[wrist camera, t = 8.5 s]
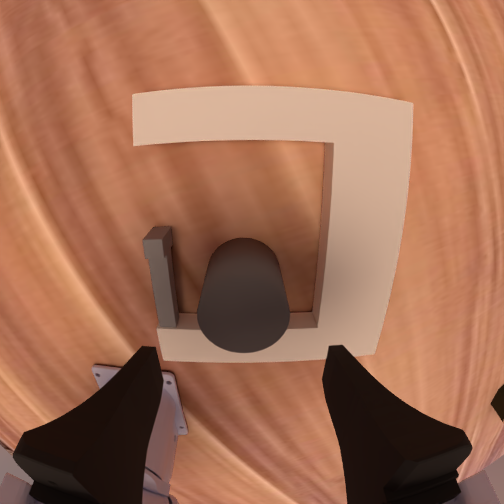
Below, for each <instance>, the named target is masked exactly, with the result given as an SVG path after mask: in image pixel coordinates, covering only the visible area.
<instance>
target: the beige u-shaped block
mask: <svg viewBox="0 0 504 504" xmlns="http://www.w3.org/2000/svg"><path fill="white" fill-rule="evenodd" d="M132 109H133V144H134V146H139V145H149V144H161V143H175V142H191V141H215V140H289V141H312V142H325V154H324V177H323V196H322V212H321V226H320V239H319V251H318V262H317V272H316V282H315V292H314V301H313V309H312V312H298V313H290V321H289V325H288V327H287V330H286V331H285V333H284V335H283V336H282V337H281V338H280V339H279V340H278V341H277V342H276V343H274V344H273V345H272V346H270V347H268V348H266V349H264V350H261V351H257V352H253V353H235V352H230V351H227V350H224V349H221V348H219V347H218V346H216V345H214V344H213V343H212V342H210V341H209V340H208V339H207V338H206V337H205V335H204V334H203V333H202V331H201V329H200V327H199V324H198V320H197V313H179V311H178V304H177V297H176V289H175V281H174V273H173V264H172V255H171V246H172V244H173V242H172V231H171V227H153V228H152V229H151V231H150V232H149V233H148V234H147V235H146V236H145V237H144V239H143V247H144V254H145V259H149V266H150V273H151V280H152V286H153V292H154V298H155V304H156V309H157V315H158V320H159V323H158V326H157V328H156V329H157V334H158V339H159V343H160V348H161V352H162V357H163V360H164V361H183V362H216V363H254V362H287V361H306V360H321V359H326V358H327V353H328V347H329V346H331V345H343V346H344V347H345V348H346V349H347V350H348V351H349V352H350V353H351V354H352V355H353V356H354V357H355V356H364V355H373V354H375V351H376V348H377V344H378V341H379V337H380V334H381V330H382V326H383V323H384V319H385V315H386V311H387V307H388V303H389V299H390V294H391V290H392V285H393V281H394V276H395V271H396V266H397V261H398V256H399V250H400V244H401V238H402V232H403V226H404V219H405V212H406V204H407V196H408V187H409V177H410V165H411V152H412V133H413V103H411V102H406V101H401V100H396V99H391V98H386V97H380V96H374V95H367V94H360V93H353V92H345V91H337V90H327V89H316V88H303V87H285V86H213V87H195V88H182V89H171V90H161V91H153V92H145V93H138V94H132Z"/></svg>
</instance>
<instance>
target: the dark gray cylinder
mask: <svg viewBox="0 0 504 504" xmlns="http://www.w3.org/2000/svg"><path fill="white" fill-rule="evenodd" d="M197 320H198V324H199V327H200V329H201V331H202V333H203V334H204V335H205V337H206V338H207V339H208V340H209V341H210V342H212V343H213V344H214V345H216V346H218V347H219V348H221V349H224V350H227V351H230V352H235V353H253V352H257V351H261V350H264V349H266V348H268V347H270V346H272V345H273V344H274V343H276V342H277V341H278V340H279V339H280V338H281V337H282V336H283V335H284V333H285V331H286V330H287V327H288V325H289V321H290V310H289V305H288V301H287V297H286V292H285V288H284V284H283V280H282V276H281V272H280V267H279V263H278V260H277V258H276V256H275V254H274V253H273V251H272V250H271V249H270V248H269V247H268V246H266V245H265V244H264V243H262V242H260V241H257V240H254V239H250V238H237V239H233V240H230V241H227V242H225V243H224V244H222V245H221V246H219V247H218V248H217V249H216V250H215V252H214V253H213V254H212V256H211V258H210V261H209V264H208V268H207V272H206V276H205V281H204V285H203V289H202V293H201V297H200V301H199V305H198V310H197Z"/></svg>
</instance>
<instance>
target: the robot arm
mask: <svg viewBox="0 0 504 504" xmlns="http://www.w3.org/2000/svg"><path fill="white" fill-rule="evenodd" d="M92 372H93V374H94V377H95V379H96V381H97V384H98V386H99V388H100V390H98V391H97V392H96V393H95V394H94V395H93V396H91V397H90V398H89V399H87V400H86V401H85V402H83V403H82V404H80V405H79V406H77V407H76V408H74V409H73V410H71V411H69V412H68V413H66V414H65V415H63V416H61V417H59V418H57V419H55V420H53V421H51V422H49V423H47V424H45V425H42V426H40V427H37V428H34V429H32V430H29V431H26V432H24V433H23V435H22V437H21V439H20V441H19V443H18V445H17V447H16V449H15V451H14V453H13V458H14V460H15V461H16V463H17V464H18V465H19V466H20V467H21V468H22V469H23V470H24V471H25V472H26V473H27V474H28V475H29V476H30V477H31V478H32V479H33V480H34V482H33V485H30V484H29V483H27V482H25V481H24V480H21V479H19V478H17V477H15V476H13V475H11V474H9V473H6V474H5V476H4V479H3V481H2V484H1V486H0V504H179V503H178V501H177V499H176V498H175V497H174V496H173V495H170V494H169V490H170V484H169V482H170V479H171V476H172V470H173V464H174V458H175V452H176V446H177V440H178V435H187V434H188V428H187V425H186V421H185V417H184V413H183V410H182V406H181V402H180V398H179V394H178V390H177V385H176V381H175V377H174V375H173V374H172V373H170V372H162V371H161V367H160V363H159V359H158V355H157V351H156V347H149V346H142V347H141V348H140V349H139V350H138V351H137V352H136V353H135V354H134V355H133V356H132V357H131V358H130V360H129V361H128V362H127V363H126V364H125V365H124V366H123V367H122V368H117V367H108V366H101V365H93V367H92ZM169 381H171V382H169ZM322 382H323V388H324V394H325V399H326V403H327V406H328V409H329V413H330V416H331V419H332V422H333V425H334V429H335V432H336V435H337V438H338V442H339V446H340V450H341V456H342V462H343V469H344V476H345V483H346V493H347V504H500V502H499V499H498V497H497V495H496V493H495V491H494V489H493V486H492V484H491V482H490V480H489V478H488V476H487V474H486V472H485V470H482V471H480V472H478V473H476V474H475V475H473V476H470V477H468V478H466V479H465V480H463V481H461V482H460V483H457V481H456V478H457V477H458V475H459V474H458V472H457V470H456V469H457V468H458V467H459V466H460V465H461V464H462V463H463V462H464V460H465V459H466V458H467V457H468V456H469V455H470V453H471V451H472V445H471V443H470V441H469V439H468V437H467V436H466V434H465V432H464V431H463V430H462V429H459V428H456V427H453V426H450V425H447V424H444V423H442V422H440V421H438V420H435V419H433V418H431V417H429V416H427V415H425V414H423V413H421V412H420V411H418V410H416V409H415V408H413V407H411V406H410V405H408V404H406V403H405V402H404V401H402V400H401V399H399V398H398V397H397V396H395V395H394V394H393V393H391V392H390V391H389V390H388V389H386V388H385V387H384V386H383V385H382V384H381V383H379V382H378V381H377V380H376V379H375V378H374V377H373V376H372V375H371V374H370V373H369V372H368V371H367V370H366V369H365V368H364V367H363V366H362V365H361V364H360V363H359V362H358V361H357V360H356V358H355V357H354V356H353V355H352V354H351V353H350V352H349V351H348V350H347V349H346V348H345V347H344V346H343V345H331V346H329V347H328V353H327V358H326V363H325V368H324V373H323V377H322Z"/></svg>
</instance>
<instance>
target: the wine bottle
mask: <svg viewBox="0 0 504 504" xmlns="http://www.w3.org/2000/svg"><path fill="white" fill-rule="evenodd" d="M491 405H492V406H493V408H494V409H495V411H496V412H497V414H498V415H499V417H500V418H501V420H502V422H503V423H504V385H503V386H502V387H501V388H500V389H499V390H498V391H497V393H496V395H495V397H494V399H493V401H492V402H491Z"/></svg>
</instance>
